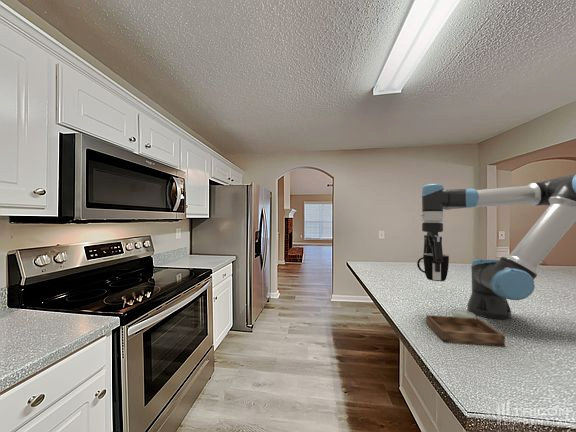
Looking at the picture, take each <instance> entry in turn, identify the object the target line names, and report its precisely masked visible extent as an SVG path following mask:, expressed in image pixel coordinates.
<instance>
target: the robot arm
mask: <svg viewBox="0 0 576 432" xmlns="http://www.w3.org/2000/svg"><path fill="white" fill-rule="evenodd" d="M421 188H422V191H421V206H422V207H421V208H422V209H421V214H420V217H422V218H421V221H422V223H421V231H422V232H423V233H424V232H425V233H426V234H424V236H423V239H424V241H423V252H422V253H423V255H422V256H423V257H424V254H425V253H432V255H433V261H432V263H433V280H441V263H443V254H444V252H443V238H442V236H439V233H442V232H443V231H444V223H443V222H444V210H446V211H447V210H448V211H449V210H457V209H458V210H459V209H469V208H471V209H472V208H482V207H483V208H485V207H486V208H487V207H499V206H513V205H525V204H526V205H530V206H531V207H532V206H533V207H534V206H548V207H547V208H546V210H545V211H544V212H543V213H542V214H541V216H540V217H539V218H538V219H537V221H536V222H535V223H534V224H533V226H532V227H531V228H530V229H529V230H528V232H526V234H525V235H524V237H523V238H522V239H521V240H520V241H519V243H518V244H517V245H516V246H515V248H513V250H512V251H511V253H510V254H509V255H503V256H501V258H499V259H483V258H482V259H481V258H480V259H476V258H475V259H473V260H472V261H471V266H470V268H471V295H470V297H469V299H468V302H467V305H466V307H467V309H466V311H469V312H472V313H474V314H475V316H476V315H477V316H479V317H483V318H487V319H488V318H490V319H496V320H509V319H511V318H512V310H511V308H510V305H509V302H508V300H509V301H521V300H524V299H527V298H528V297H530V296H531V295H532V294H533V293H534V290H535V287H536V285H535V279H536V278H537V276H538V273H537V268H538V267H539V266H540V265H541V263H542V262H543V261H544V260H545V258H546V257H547V256H548V254H549V253H550V252H551V251H552V250H553V249H554V248H555V246H556V245H557V244H558V243H559V241H560V240H561V239H562V238H563V236H564V235H565V234H566V233H567V232H568V231H569V230H570V228H571V227H572V226H573V225H574V224H575V222H576V173H572V174H569V175H568V174H567V175H564V176H559V177H555V178H552V179H548V180H543V181H538V182H531V183H528V185H523V186H522V185H521V186H520V185H519V186H510V187H509V186H508V187H497V188H487V189H475V188H450V189H448V188H444V185H443V184H441V183H429V184H425V185H423V186H422V187H421ZM424 275H425V276H426V274H425V273H424Z"/></svg>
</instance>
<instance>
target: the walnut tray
mask: <svg viewBox="0 0 576 432" xmlns="http://www.w3.org/2000/svg"><path fill="white" fill-rule="evenodd" d="M426 325H427V326H428V328H429V329H431V331H432V332H433V333H434V334H435V335H436V336H437V337H438V338H439V339H440V340H441V341H442V342H446V343H456V344H457V343H458V344H459V343H460V344H471V345H485V346H498V347H506V338H505V337H506V335H504V334H503V333H501V332H500V331H499V330H497V329H495V328H494V327H492V326H491V325H489V324H488V323H486V322H485V321H483V320H482V319H480V318H476V317H475V318H463V317H453V316H447V315H446V316H445V315H426Z"/></svg>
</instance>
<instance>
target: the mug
mask: <svg viewBox="0 0 576 432" xmlns="http://www.w3.org/2000/svg"><path fill="white" fill-rule="evenodd" d="M422 260H423V268H424V269H422V268H421V265H420V262H421V261H422ZM432 261H433V255H432V253H425V254H424V257H420V258H419V259H418V260H417V262H416V264H417V265H416V266H417V268H418V270H419V271H420V272H422V273H423V274H424V275H425V274H426V275H425V277H426V279H427V280H429V281H433V282H444V281H446V279H447V277H448V272H449V265H450V263H449V262H450V256H449V254H445V253H443V263H441V280H433V263H432Z"/></svg>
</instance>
